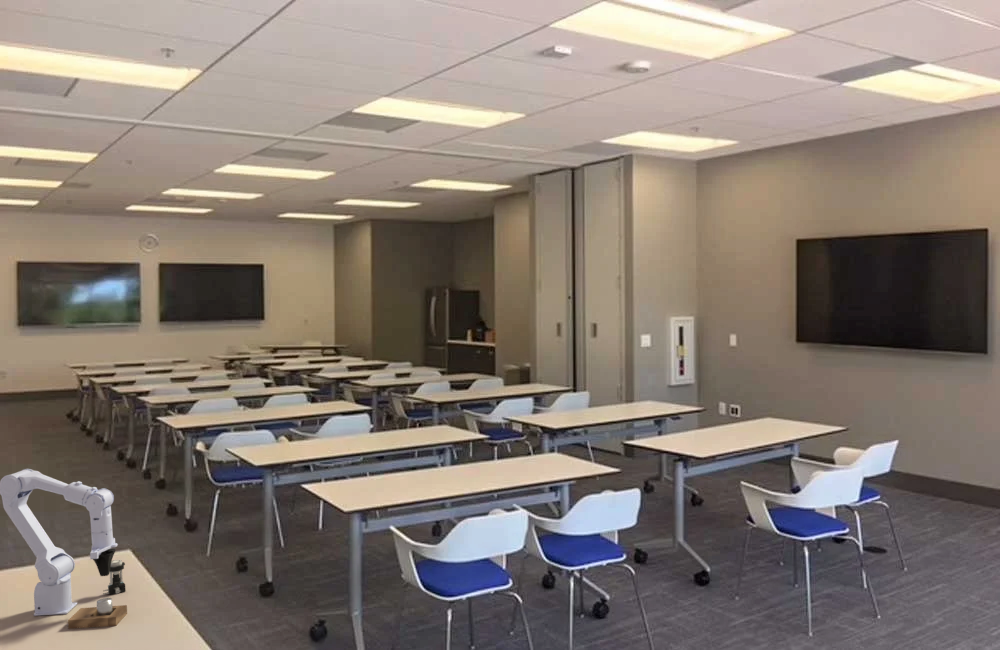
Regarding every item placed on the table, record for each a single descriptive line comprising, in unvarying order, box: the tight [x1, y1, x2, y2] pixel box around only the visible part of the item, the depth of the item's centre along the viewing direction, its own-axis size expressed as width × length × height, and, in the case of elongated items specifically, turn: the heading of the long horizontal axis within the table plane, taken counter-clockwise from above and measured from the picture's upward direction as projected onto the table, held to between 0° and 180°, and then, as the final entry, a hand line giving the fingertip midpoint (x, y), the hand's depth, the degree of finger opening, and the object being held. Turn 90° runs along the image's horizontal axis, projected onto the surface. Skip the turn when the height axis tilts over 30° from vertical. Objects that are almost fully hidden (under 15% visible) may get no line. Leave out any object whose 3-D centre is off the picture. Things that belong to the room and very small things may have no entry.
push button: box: [102, 559, 127, 596], centre depth 257 cm, size 7×5×10 cm
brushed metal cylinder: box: [96, 597, 113, 616], centre depth 235 cm, size 4×4×6 cm
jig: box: [67, 604, 128, 630], centre depth 235 cm, size 13×9×2 cm
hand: (104, 575), depth 243 cm, fingers closed
